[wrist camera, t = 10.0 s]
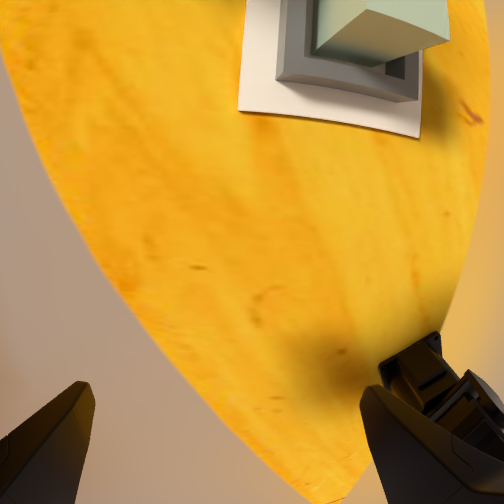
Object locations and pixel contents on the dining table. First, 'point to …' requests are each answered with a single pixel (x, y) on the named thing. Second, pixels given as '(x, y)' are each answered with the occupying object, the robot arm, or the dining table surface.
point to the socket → (321, 75)
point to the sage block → (377, 29)
